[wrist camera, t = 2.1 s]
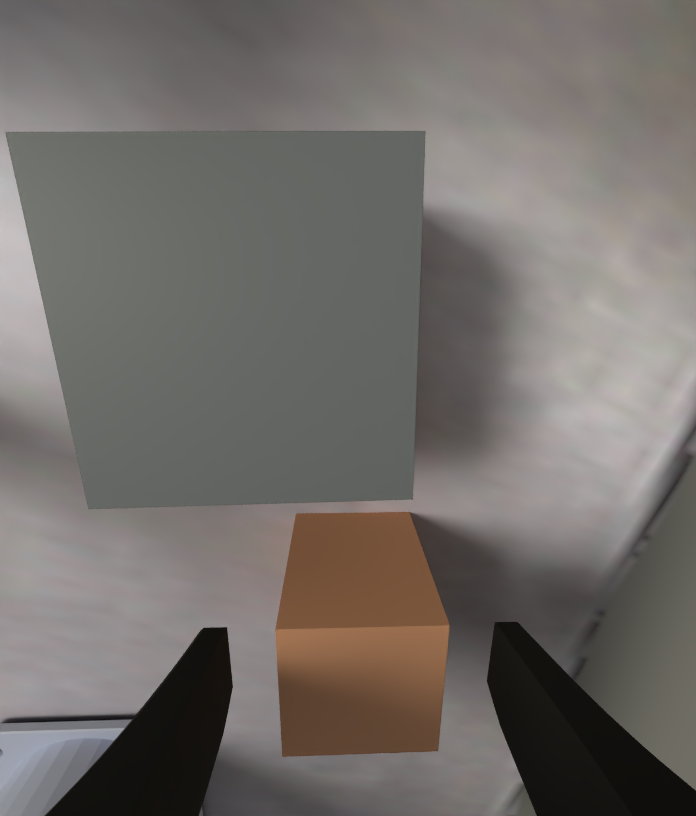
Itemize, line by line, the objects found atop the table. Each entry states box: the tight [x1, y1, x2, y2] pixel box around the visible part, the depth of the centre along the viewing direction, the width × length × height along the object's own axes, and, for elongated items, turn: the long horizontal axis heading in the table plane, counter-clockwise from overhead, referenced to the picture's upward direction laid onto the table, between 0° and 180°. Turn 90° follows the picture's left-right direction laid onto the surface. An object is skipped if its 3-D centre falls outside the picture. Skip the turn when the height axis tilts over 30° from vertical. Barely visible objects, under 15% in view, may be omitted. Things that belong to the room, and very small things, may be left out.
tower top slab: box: [6, 131, 425, 509], centre depth 9 cm, size 7×7×2 cm
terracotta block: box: [275, 512, 450, 757], centre depth 12 cm, size 4×4×5 cm
